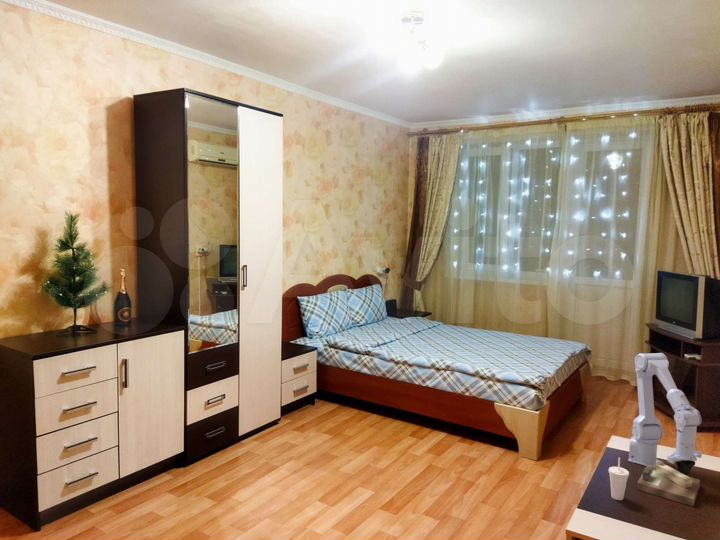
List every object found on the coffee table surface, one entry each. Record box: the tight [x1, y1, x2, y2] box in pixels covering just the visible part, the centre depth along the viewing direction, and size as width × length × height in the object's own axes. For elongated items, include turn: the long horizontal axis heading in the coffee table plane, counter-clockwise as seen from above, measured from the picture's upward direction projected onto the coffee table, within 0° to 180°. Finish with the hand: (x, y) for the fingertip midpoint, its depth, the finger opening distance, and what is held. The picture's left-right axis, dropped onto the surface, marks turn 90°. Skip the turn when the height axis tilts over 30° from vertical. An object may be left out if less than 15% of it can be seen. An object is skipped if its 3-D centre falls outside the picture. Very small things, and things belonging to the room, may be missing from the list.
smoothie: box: [608, 457, 630, 501], centre depth 177 cm, size 6×6×14 cm
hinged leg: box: [655, 459, 693, 488], centre depth 185 cm, size 13×3×4 cm, turn 18°
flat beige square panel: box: [636, 465, 701, 507], centre depth 184 cm, size 17×17×6 cm
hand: (683, 478), depth 184 cm, fingers closed
